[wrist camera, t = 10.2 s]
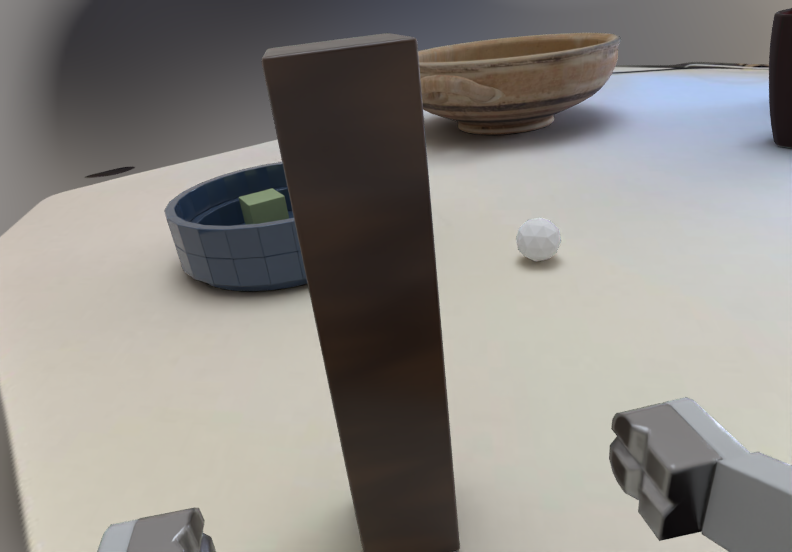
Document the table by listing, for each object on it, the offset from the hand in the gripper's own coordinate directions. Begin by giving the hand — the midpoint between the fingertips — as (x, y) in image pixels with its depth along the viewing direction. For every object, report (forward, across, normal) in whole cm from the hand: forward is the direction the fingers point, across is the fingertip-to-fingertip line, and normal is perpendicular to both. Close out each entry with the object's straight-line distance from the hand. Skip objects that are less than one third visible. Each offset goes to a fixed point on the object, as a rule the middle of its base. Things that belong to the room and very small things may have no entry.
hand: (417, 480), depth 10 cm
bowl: (+34, +4, +8) cm, 35 cm away
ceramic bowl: (+65, -26, +9) cm, 71 cm away
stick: (+6, 0, +8) cm, 10 cm away
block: (+36, +5, +8) cm, 38 cm away
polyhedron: (+24, -13, +9) cm, 29 cm away
